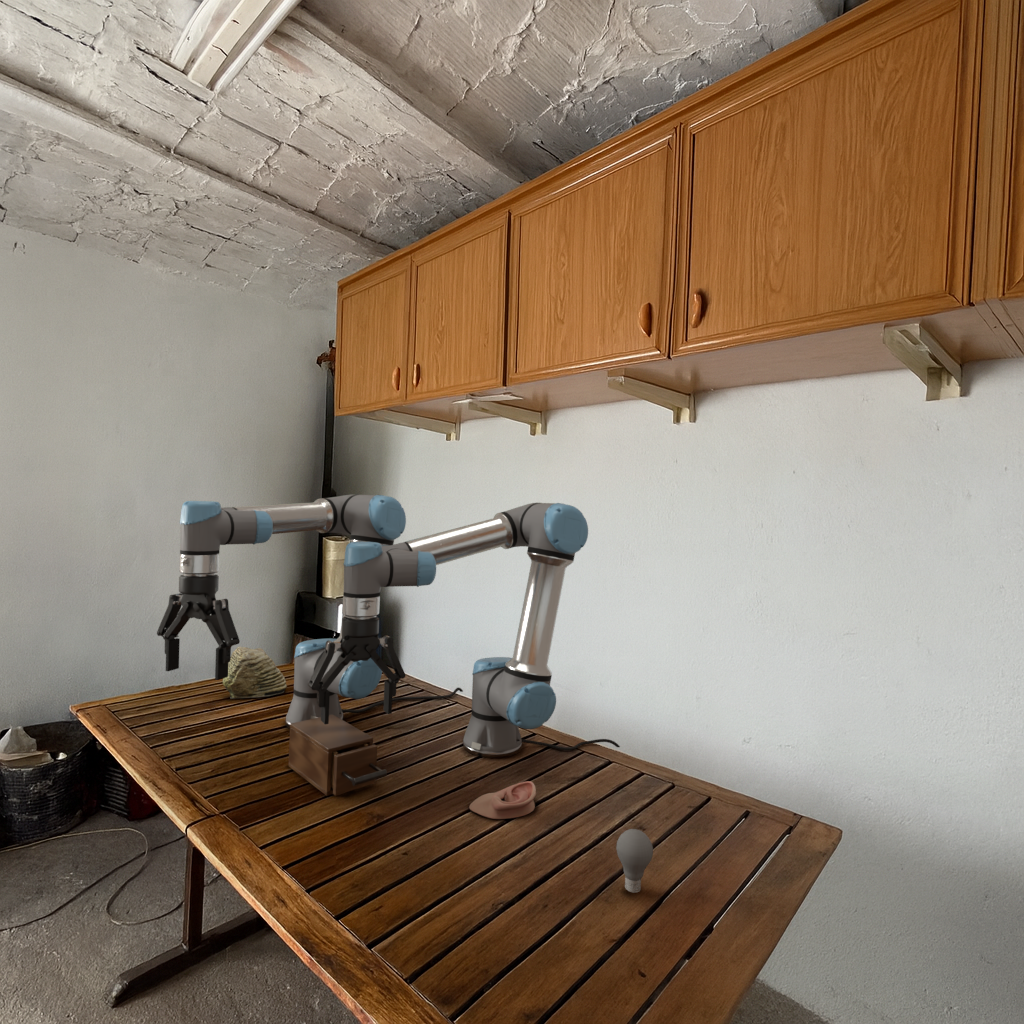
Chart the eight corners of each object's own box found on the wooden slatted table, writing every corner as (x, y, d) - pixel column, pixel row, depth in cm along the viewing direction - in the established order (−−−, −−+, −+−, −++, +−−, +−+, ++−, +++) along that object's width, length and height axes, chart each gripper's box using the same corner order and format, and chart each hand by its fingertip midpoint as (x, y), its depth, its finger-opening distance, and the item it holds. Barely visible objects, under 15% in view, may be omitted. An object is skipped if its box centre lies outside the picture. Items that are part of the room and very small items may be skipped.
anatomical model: (465, 795, 128) (479, 772, 140) (464, 815, 128) (479, 790, 140) (530, 804, 126) (539, 780, 137) (529, 824, 126) (538, 798, 137)
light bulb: (610, 879, 108) (613, 822, 108) (644, 879, 109) (647, 822, 109) (619, 902, 102) (622, 840, 102) (655, 901, 103) (658, 840, 103)
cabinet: (371, 782, 142) (373, 737, 141) (326, 796, 134) (328, 749, 134) (331, 754, 155) (332, 714, 155) (288, 766, 148) (289, 723, 148)
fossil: (218, 695, 195) (220, 647, 195) (278, 685, 208) (279, 640, 207) (228, 703, 189) (230, 653, 188) (289, 692, 201) (290, 645, 201)
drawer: (390, 792, 135) (392, 754, 135) (349, 806, 128) (351, 766, 128) (336, 756, 152) (337, 722, 152) (298, 767, 145) (299, 731, 145)
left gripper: (139, 571, 134) (137, 670, 135) (232, 580, 126) (229, 686, 126) (169, 567, 141) (167, 662, 142) (259, 576, 133) (256, 677, 133)
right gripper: (305, 623, 122) (301, 732, 123) (422, 615, 136) (419, 713, 136) (295, 616, 128) (291, 720, 129) (408, 609, 142) (404, 703, 143)
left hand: (196, 674), depth 134 cm, fingers open, 13 cm apart
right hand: (356, 717), depth 133 cm, fingers open, 13 cm apart
